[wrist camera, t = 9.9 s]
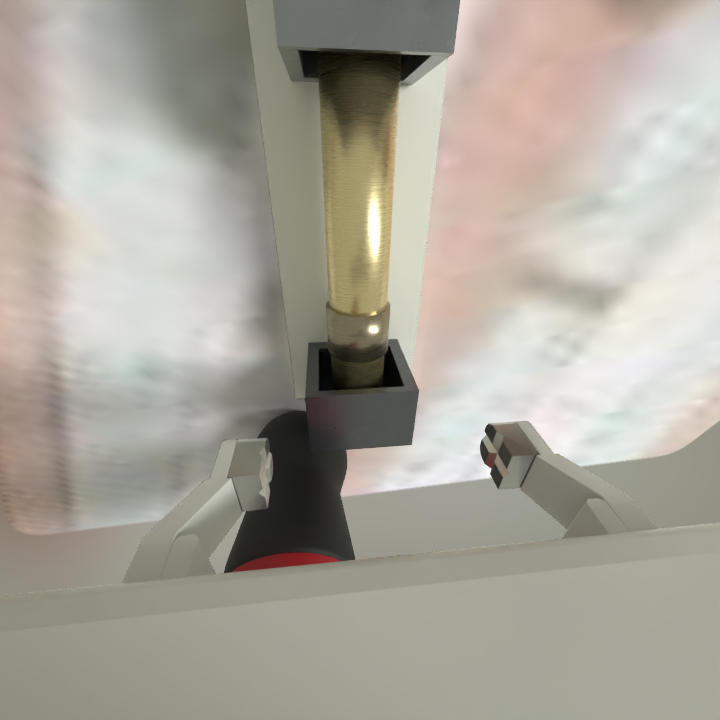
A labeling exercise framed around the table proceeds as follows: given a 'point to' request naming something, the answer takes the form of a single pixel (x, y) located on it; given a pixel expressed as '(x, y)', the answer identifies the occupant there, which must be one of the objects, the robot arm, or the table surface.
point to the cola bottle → (295, 505)
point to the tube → (358, 207)
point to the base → (306, 194)
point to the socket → (359, 405)
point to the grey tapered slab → (366, 32)
